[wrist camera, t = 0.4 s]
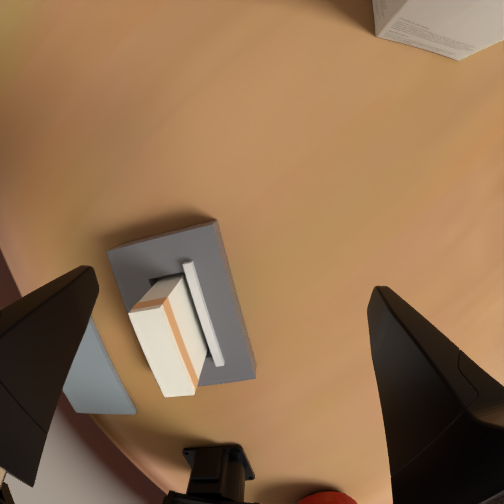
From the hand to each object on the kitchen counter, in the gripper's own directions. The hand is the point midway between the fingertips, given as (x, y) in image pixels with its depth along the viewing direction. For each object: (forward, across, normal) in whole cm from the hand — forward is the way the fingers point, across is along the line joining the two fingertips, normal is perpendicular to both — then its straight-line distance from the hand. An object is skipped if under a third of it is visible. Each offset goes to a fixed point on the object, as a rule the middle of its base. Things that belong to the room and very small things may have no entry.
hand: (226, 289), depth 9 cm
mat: (+8, +16, +17) cm, 25 cm away
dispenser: (+10, +5, +10) cm, 15 cm away
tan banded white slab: (+10, +4, +10) cm, 15 cm away
